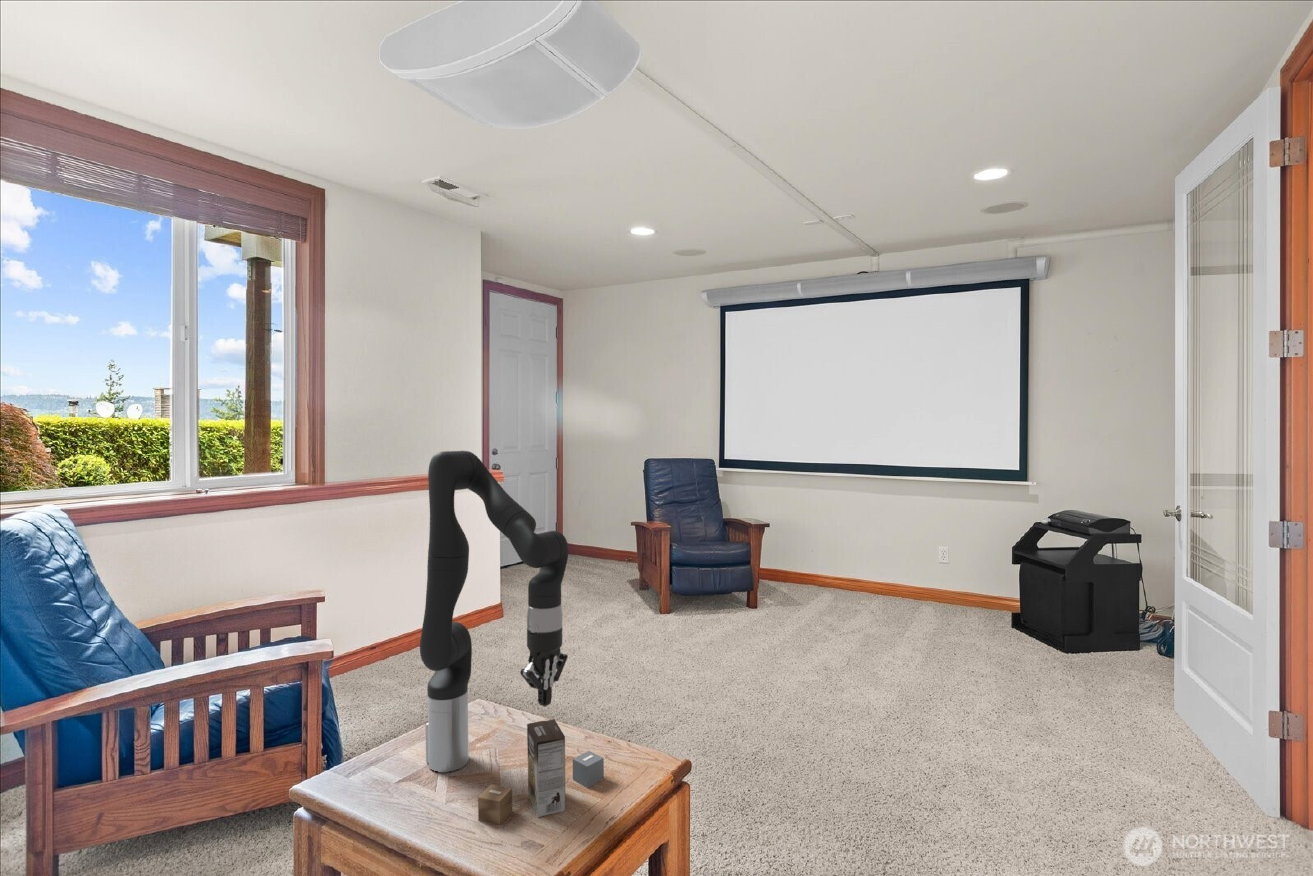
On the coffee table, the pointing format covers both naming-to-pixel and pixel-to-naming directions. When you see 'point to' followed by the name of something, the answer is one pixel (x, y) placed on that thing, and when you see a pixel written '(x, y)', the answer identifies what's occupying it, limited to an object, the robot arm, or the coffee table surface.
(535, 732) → the coffee box
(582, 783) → the slate block
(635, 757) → the coffee table surface
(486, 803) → the walnut block
